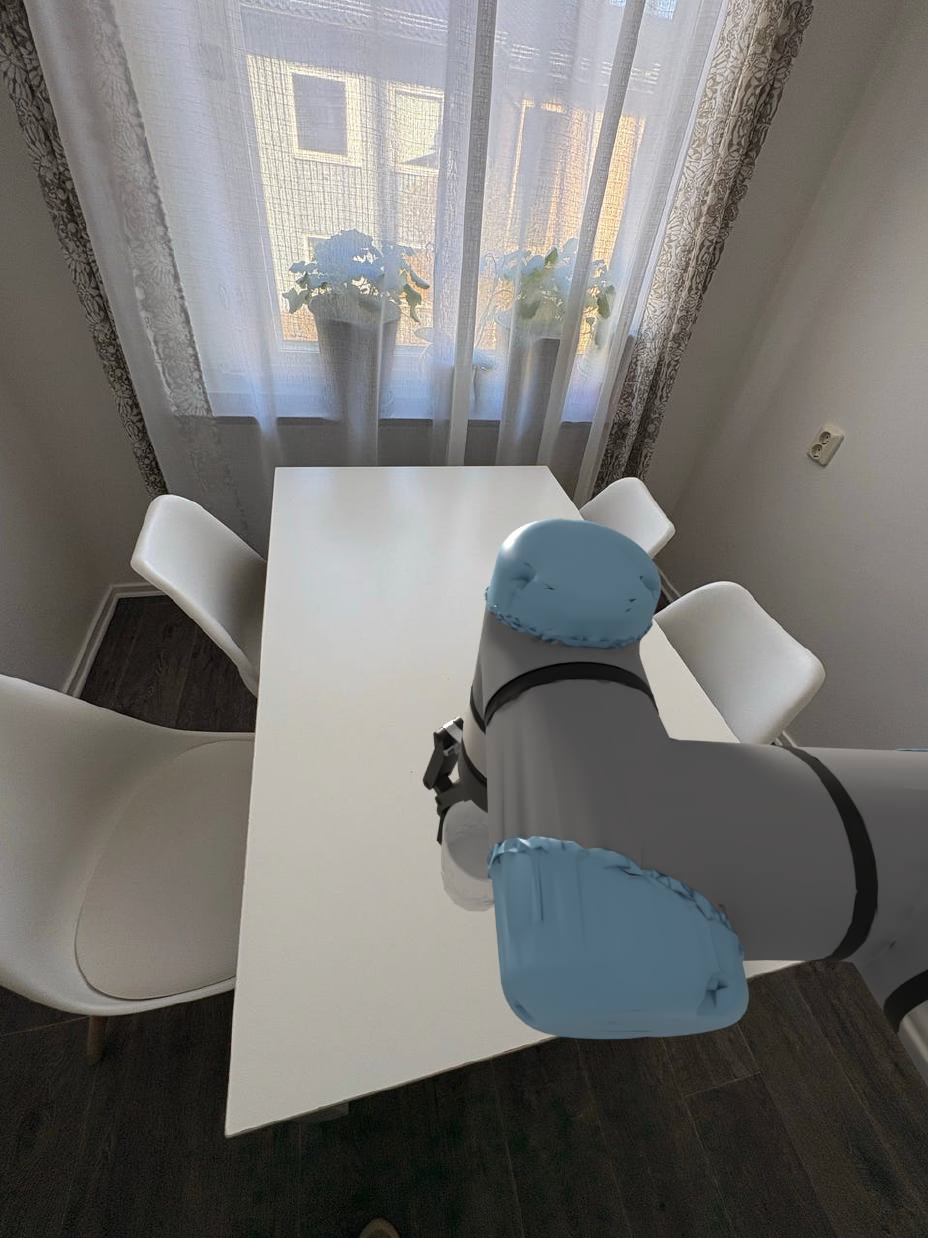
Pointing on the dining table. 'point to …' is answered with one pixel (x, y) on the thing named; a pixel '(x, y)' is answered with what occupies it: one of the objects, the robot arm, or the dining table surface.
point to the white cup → (466, 857)
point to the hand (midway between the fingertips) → (477, 868)
